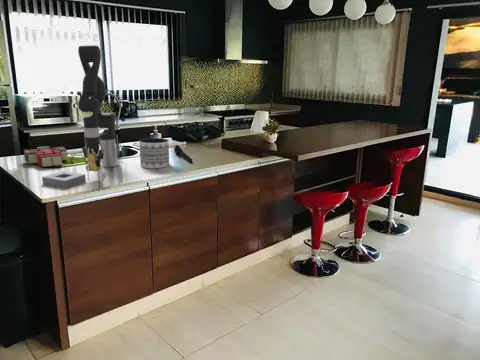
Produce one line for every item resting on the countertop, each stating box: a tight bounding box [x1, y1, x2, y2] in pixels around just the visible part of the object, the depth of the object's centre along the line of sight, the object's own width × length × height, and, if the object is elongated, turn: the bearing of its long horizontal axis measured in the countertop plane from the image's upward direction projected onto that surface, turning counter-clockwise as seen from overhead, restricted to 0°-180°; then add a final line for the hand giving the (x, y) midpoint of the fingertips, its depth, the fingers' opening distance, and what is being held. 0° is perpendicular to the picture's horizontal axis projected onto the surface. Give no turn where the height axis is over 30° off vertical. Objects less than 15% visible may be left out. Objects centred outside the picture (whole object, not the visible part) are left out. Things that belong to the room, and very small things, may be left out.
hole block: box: [41, 170, 87, 189], centre depth 210 cm, size 14×16×4 cm
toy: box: [23, 146, 68, 168], centre depth 253 cm, size 24×9×30 cm
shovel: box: [173, 144, 193, 164], centre depth 274 cm, size 35×4×8 cm, turn 27°
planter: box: [138, 137, 170, 169], centre depth 251 cm, size 18×18×16 cm
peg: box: [86, 153, 102, 173], centre depth 216 cm, size 4×4×10 cm
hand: (94, 166), depth 217 cm, fingers closed on peg, 4 cm apart
